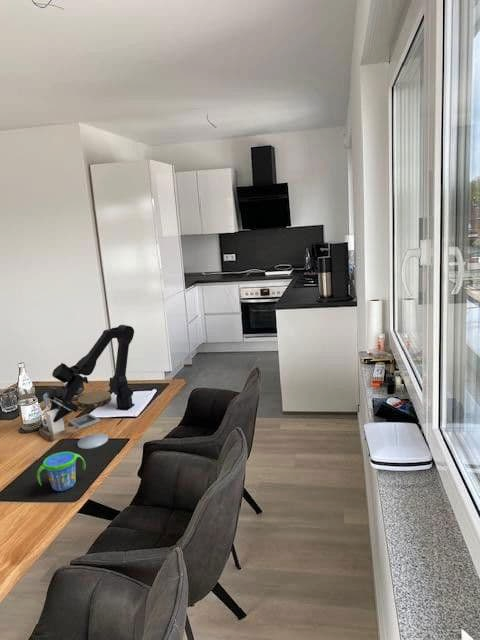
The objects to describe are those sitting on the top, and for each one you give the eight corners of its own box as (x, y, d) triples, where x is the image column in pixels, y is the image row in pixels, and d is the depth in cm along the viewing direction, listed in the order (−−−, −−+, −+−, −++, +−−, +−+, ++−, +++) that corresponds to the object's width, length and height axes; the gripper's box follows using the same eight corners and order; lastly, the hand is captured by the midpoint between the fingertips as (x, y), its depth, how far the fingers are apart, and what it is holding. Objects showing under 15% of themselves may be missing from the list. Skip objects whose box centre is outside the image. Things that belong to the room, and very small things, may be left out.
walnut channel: (67, 424, 216) (66, 419, 216) (78, 431, 208) (77, 425, 208) (39, 434, 208) (38, 429, 208) (50, 441, 200) (49, 436, 200)
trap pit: (89, 416, 223) (89, 413, 223) (100, 422, 216) (99, 418, 215) (68, 424, 216) (68, 421, 216) (79, 430, 209) (78, 427, 209)
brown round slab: (116, 395, 247) (115, 390, 247) (104, 408, 232) (103, 402, 231) (86, 397, 249) (85, 391, 249) (72, 409, 234) (71, 403, 233)
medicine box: (65, 408, 236) (62, 391, 234) (61, 411, 232) (58, 394, 230) (50, 408, 237) (47, 392, 235) (45, 412, 233) (42, 395, 231)
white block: (60, 429, 211) (56, 408, 209) (65, 432, 208) (61, 411, 205) (49, 434, 208) (45, 412, 206) (54, 437, 204) (49, 415, 202)
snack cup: (84, 471, 174) (79, 445, 171) (91, 485, 165) (86, 457, 162) (38, 486, 166) (32, 459, 164) (42, 501, 157) (36, 472, 155)
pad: (114, 436, 200) (113, 434, 200) (96, 450, 190) (96, 448, 189) (89, 433, 205) (89, 432, 204) (71, 447, 194) (71, 446, 193)
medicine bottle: (74, 397, 249) (70, 375, 246) (65, 395, 253) (61, 374, 250) (85, 392, 255) (81, 371, 252) (76, 391, 259) (72, 369, 256)
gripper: (47, 375, 212) (27, 407, 207) (66, 383, 199) (44, 417, 194) (68, 386, 219) (48, 417, 214) (87, 395, 205) (66, 428, 201)
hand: (51, 420), depth 205 cm, fingers closed on white block, 5 cm apart
